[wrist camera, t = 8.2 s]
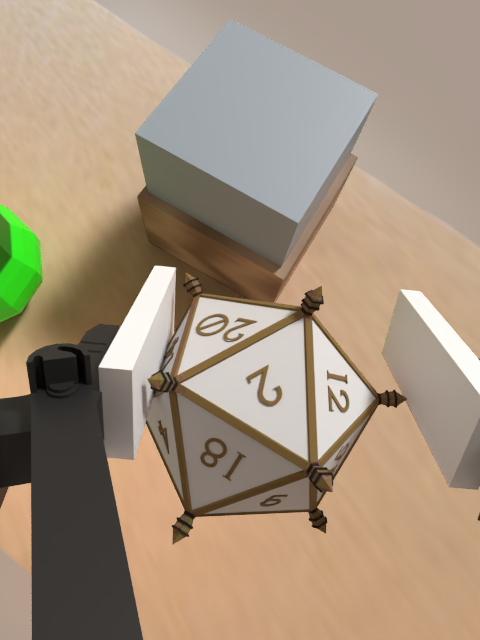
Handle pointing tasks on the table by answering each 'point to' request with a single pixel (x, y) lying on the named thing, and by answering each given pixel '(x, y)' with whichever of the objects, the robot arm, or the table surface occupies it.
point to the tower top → (252, 139)
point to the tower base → (231, 244)
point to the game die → (256, 408)
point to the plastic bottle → (17, 264)
